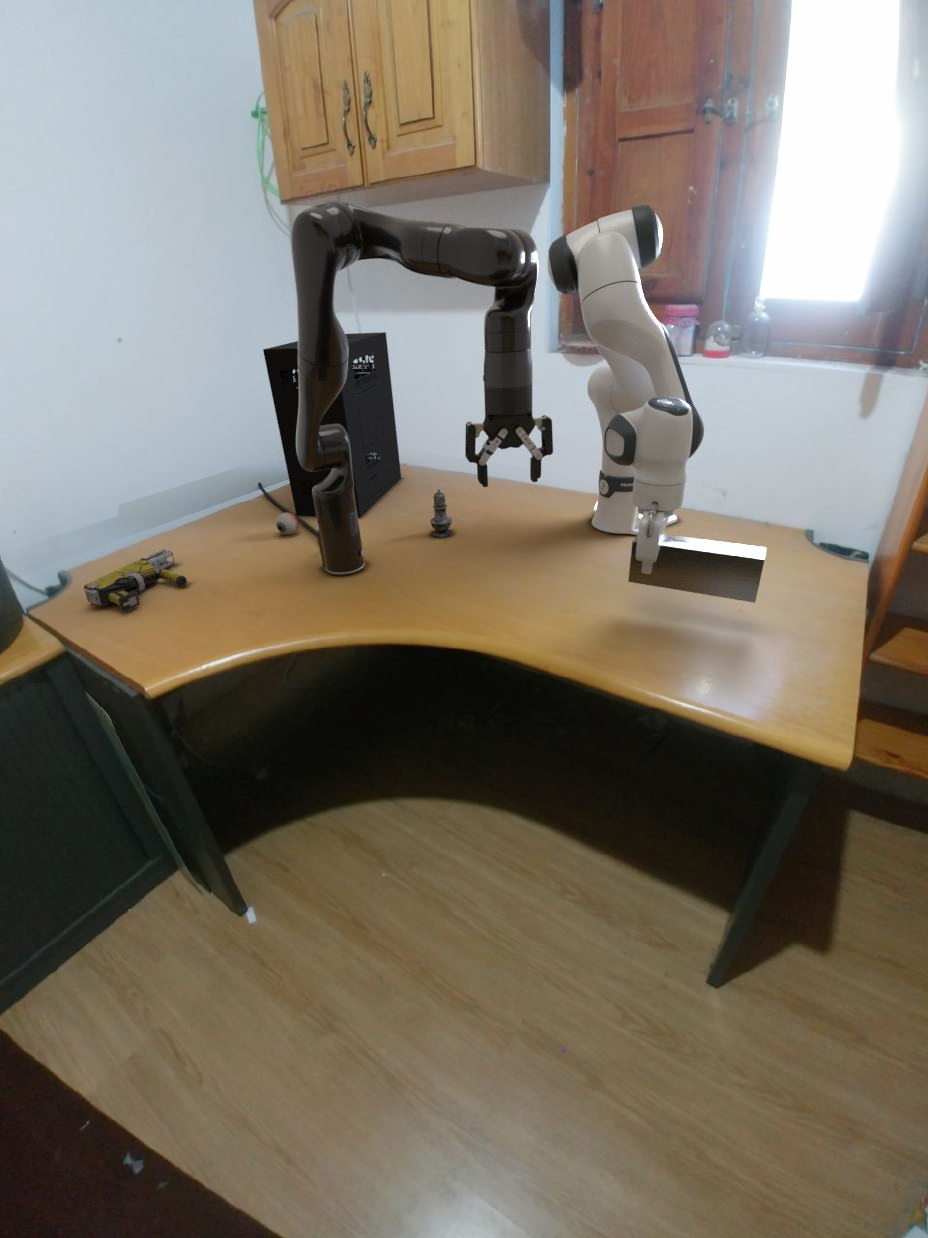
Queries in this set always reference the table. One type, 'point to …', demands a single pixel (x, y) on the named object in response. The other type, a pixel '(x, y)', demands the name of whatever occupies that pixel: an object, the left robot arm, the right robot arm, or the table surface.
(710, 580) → the bar
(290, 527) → the eyeball
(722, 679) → the table surface
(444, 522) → the salt shaker
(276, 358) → the cardboard box
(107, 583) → the toy gun
